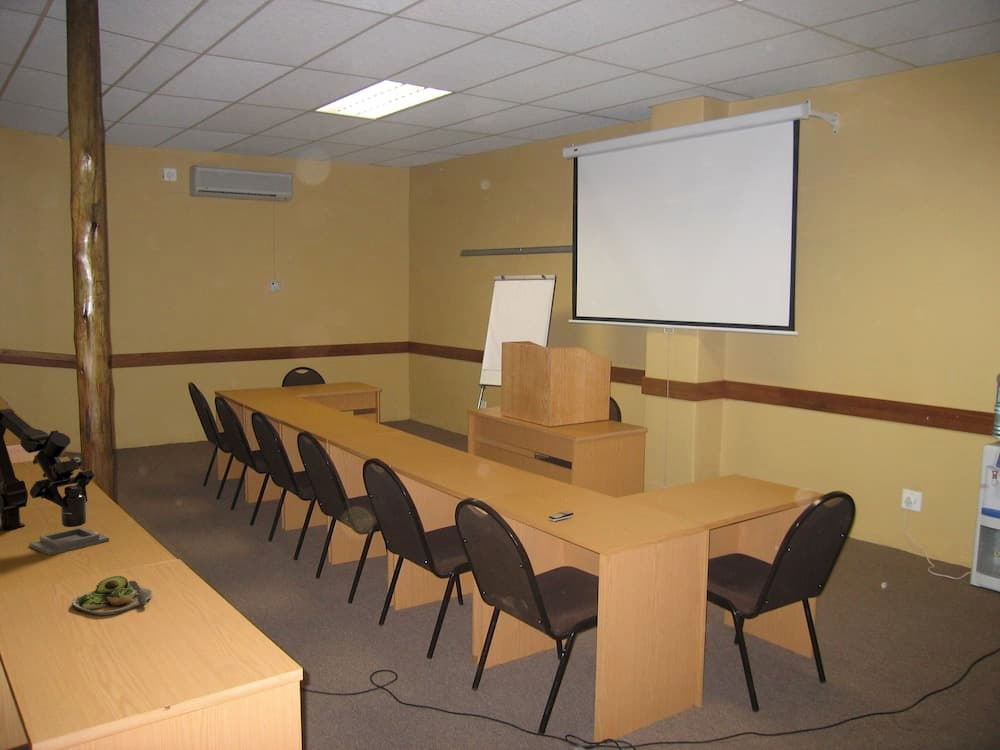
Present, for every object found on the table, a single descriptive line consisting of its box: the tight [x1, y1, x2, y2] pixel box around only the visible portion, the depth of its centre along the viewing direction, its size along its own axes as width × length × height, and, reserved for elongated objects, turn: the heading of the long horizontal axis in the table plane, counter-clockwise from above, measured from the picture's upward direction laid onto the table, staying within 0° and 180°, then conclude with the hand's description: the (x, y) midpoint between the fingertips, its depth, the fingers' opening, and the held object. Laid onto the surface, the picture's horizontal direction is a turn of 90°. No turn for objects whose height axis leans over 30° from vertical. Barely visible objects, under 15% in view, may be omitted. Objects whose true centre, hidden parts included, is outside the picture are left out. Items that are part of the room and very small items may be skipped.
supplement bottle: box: [60, 485, 87, 528], centre depth 245 cm, size 7×7×12 cm
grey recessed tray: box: [29, 526, 110, 556], centre depth 244 cm, size 14×18×2 cm
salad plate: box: [71, 575, 153, 616], centre depth 199 cm, size 19×18×5 cm
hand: (76, 504), depth 244 cm, fingers closed on supplement bottle, 7 cm apart
